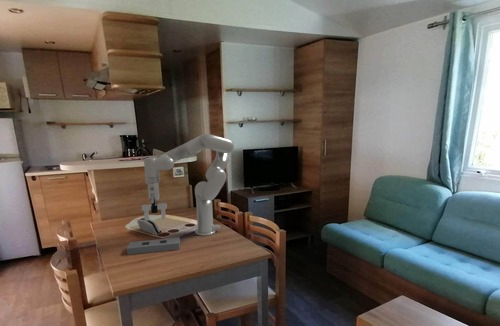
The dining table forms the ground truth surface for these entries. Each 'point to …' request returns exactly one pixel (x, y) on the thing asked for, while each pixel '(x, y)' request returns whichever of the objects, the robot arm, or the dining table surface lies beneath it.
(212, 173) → the robot arm
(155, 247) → the rail
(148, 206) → the clip
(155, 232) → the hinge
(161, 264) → the dining table surface
